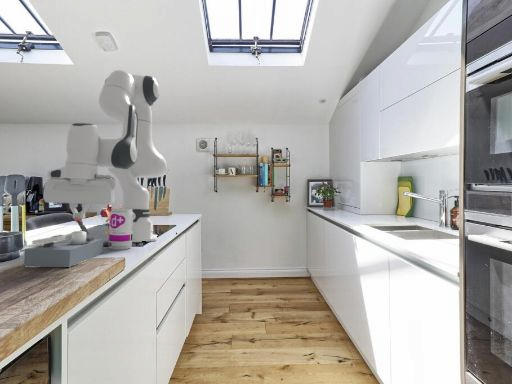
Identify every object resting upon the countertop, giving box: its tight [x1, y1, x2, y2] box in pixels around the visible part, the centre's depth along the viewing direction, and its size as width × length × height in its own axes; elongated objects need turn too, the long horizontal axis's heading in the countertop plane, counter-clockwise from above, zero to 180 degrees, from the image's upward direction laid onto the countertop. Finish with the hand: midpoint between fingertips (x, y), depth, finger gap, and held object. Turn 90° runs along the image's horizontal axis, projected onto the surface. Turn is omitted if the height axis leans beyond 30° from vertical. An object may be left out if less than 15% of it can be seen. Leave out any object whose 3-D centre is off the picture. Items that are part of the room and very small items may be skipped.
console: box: [23, 236, 104, 267], centre depth 97 cm, size 22×12×6 cm, turn 4°
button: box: [70, 230, 87, 245], centre depth 97 cm, size 4×4×4 cm
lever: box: [74, 218, 90, 236], centre depth 103 cm, size 2×2×7 cm
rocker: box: [31, 234, 66, 245], centre depth 91 cm, size 4×7×1 cm, turn 94°
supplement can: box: [108, 208, 133, 251], centre depth 120 cm, size 8×8×15 cm
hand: (79, 218), depth 97 cm, fingers closed
